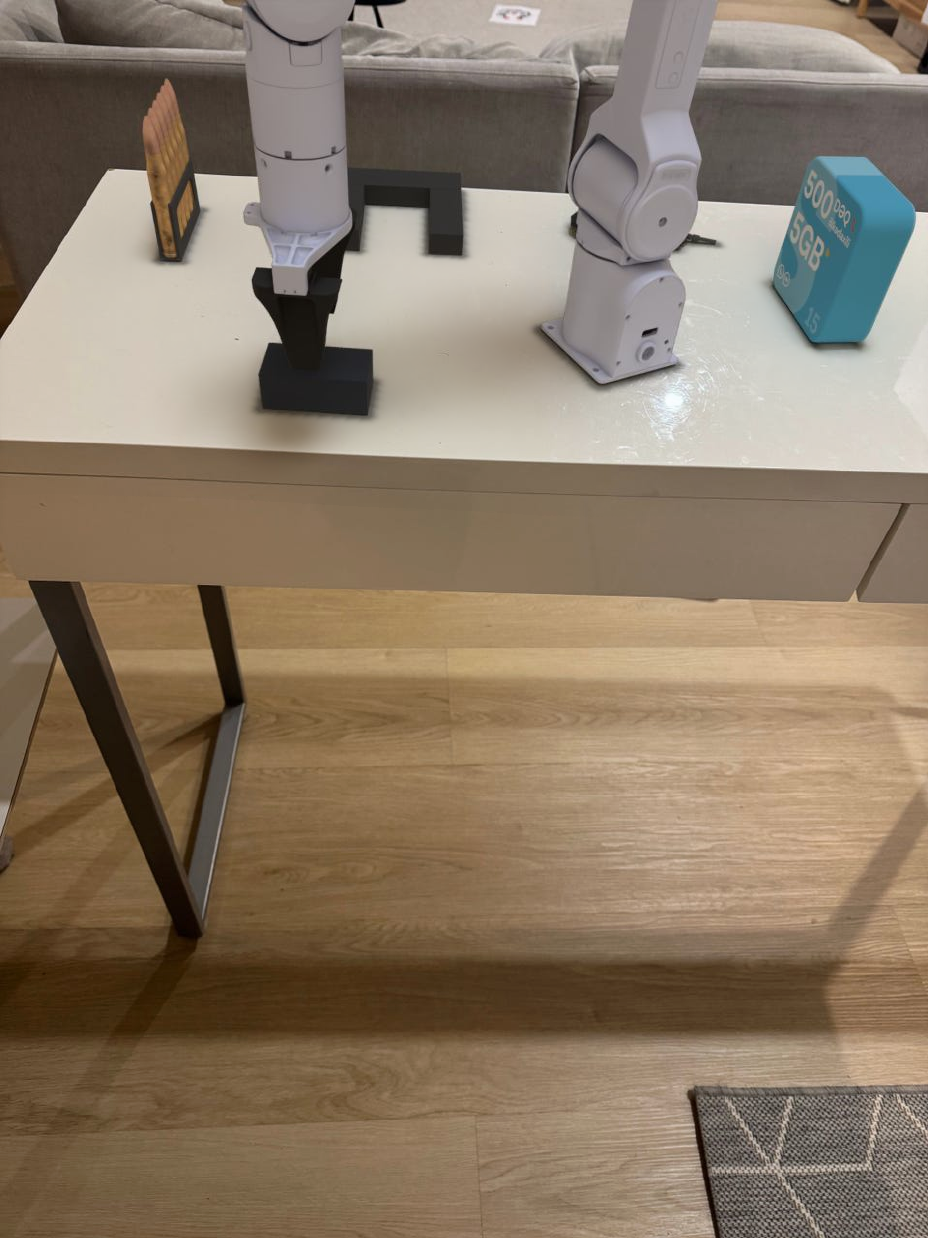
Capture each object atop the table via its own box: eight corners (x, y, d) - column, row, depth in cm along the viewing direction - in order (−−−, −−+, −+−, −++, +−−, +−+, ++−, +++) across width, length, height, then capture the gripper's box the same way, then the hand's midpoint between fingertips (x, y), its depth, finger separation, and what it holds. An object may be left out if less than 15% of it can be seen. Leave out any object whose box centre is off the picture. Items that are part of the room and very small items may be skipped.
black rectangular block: (373, 382, 72) (372, 348, 69) (367, 415, 69) (366, 381, 66) (272, 375, 71) (268, 341, 69) (262, 408, 69) (257, 374, 66)
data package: (769, 281, 87) (811, 149, 78) (813, 281, 87) (861, 150, 78) (814, 349, 79) (868, 212, 70) (863, 349, 79) (923, 212, 70)
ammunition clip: (181, 208, 90) (158, 73, 81) (200, 209, 90) (179, 75, 81) (160, 260, 83) (131, 119, 74) (181, 261, 83) (154, 120, 74)
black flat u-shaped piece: (462, 255, 87) (463, 234, 85) (325, 249, 86) (324, 228, 84) (459, 192, 96) (460, 172, 94) (336, 186, 95) (335, 166, 94)
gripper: (257, 95, 61) (276, 284, 71) (210, 186, 51) (240, 390, 61) (361, 103, 61) (366, 291, 71) (334, 195, 51) (343, 397, 62)
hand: (314, 337), depth 66 cm, fingers open, 7 cm apart
